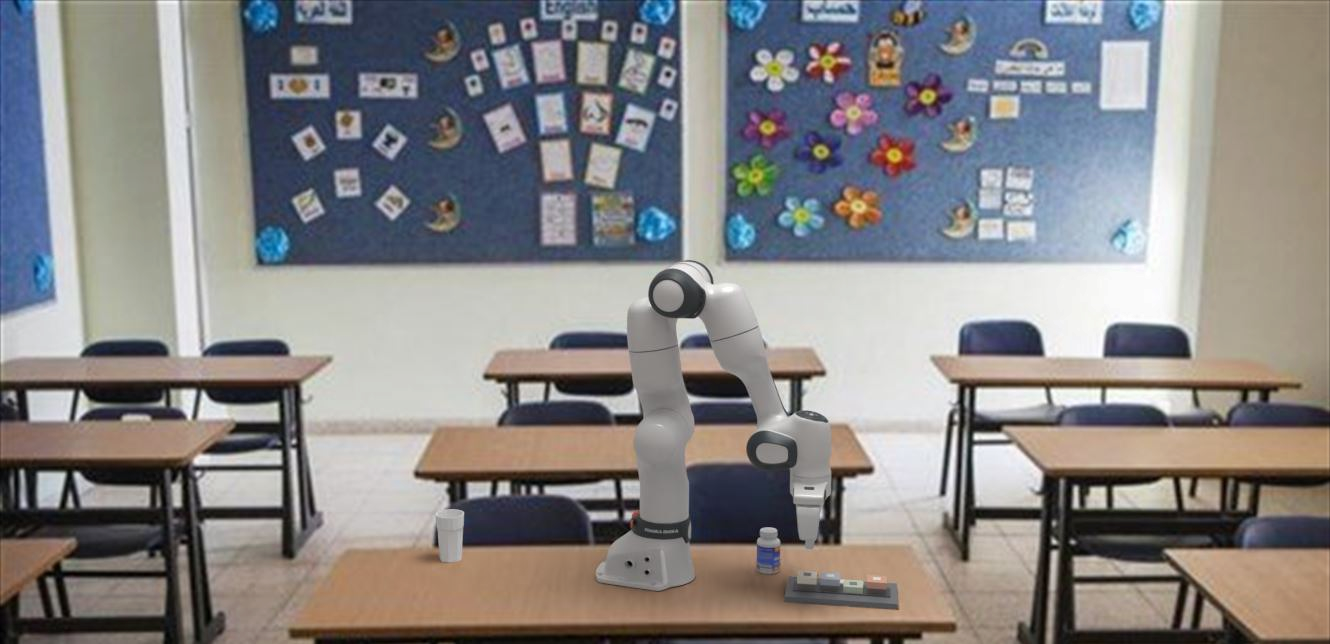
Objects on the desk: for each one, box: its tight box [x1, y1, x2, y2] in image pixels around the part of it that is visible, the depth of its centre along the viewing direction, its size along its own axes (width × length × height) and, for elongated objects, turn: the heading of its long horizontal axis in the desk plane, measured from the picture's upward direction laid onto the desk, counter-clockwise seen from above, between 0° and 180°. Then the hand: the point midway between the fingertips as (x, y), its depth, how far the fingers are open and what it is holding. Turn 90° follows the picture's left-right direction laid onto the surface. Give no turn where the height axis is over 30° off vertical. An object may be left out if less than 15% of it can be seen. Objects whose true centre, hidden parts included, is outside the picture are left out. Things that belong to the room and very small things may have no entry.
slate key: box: [819, 571, 841, 586], centre depth 272 cm, size 4×4×2 cm
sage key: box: [843, 579, 864, 594], centre depth 272 cm, size 4×4×2 cm
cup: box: [435, 508, 465, 564], centre depth 292 cm, size 7×7×11 cm
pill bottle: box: [756, 526, 781, 575], centre depth 286 cm, size 5×5×10 cm
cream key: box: [796, 569, 818, 585], centre depth 273 cm, size 4×4×2 cm
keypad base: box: [784, 575, 899, 610], centre depth 272 cm, size 24×12×2 cm, turn 81°
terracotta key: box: [866, 574, 888, 589], centre depth 270 cm, size 4×4×2 cm
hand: (809, 546), depth 272 cm, fingers closed
